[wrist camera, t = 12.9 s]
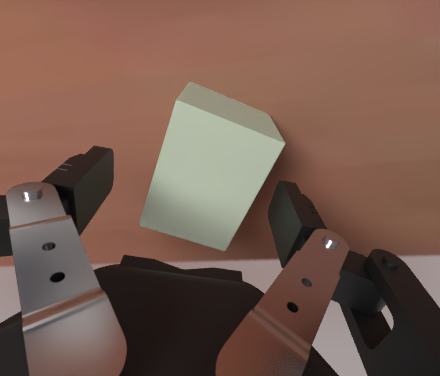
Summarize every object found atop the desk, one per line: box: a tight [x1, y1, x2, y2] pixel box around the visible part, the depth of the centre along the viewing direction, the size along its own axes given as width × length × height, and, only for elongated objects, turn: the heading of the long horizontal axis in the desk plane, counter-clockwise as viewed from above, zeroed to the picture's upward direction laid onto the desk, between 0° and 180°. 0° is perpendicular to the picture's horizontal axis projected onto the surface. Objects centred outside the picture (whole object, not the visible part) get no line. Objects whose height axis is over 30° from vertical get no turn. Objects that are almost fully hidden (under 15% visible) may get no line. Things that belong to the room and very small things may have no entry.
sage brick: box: [139, 81, 285, 251], centre depth 15 cm, size 5×7×5 cm
